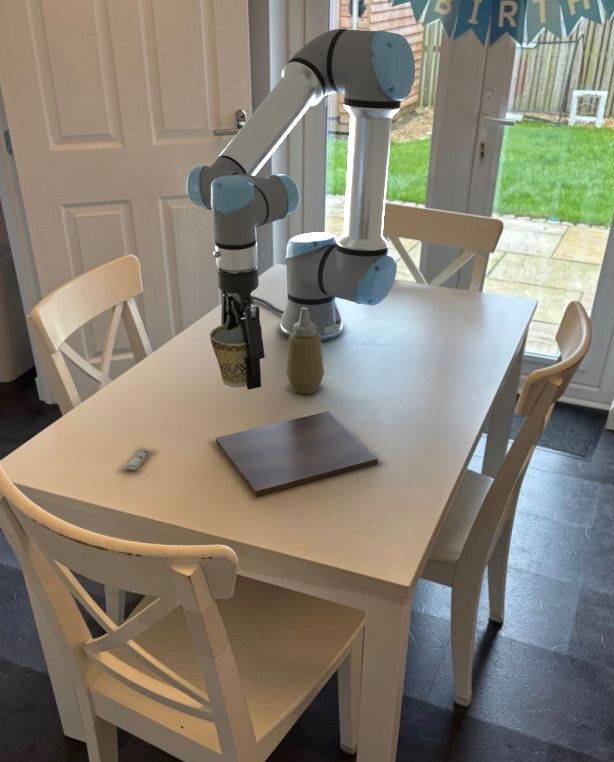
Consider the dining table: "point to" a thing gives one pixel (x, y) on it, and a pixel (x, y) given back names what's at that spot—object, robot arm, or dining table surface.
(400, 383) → the dining table surface
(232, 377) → the ceramic cup
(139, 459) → the granola bar
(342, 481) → the dining table surface
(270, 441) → the serving board
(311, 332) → the squeeze bottle
